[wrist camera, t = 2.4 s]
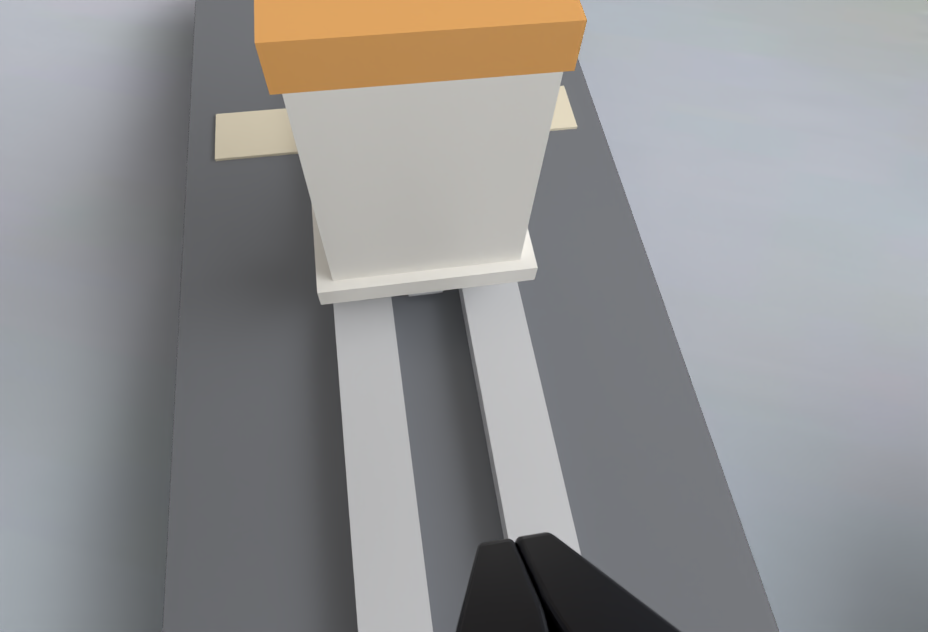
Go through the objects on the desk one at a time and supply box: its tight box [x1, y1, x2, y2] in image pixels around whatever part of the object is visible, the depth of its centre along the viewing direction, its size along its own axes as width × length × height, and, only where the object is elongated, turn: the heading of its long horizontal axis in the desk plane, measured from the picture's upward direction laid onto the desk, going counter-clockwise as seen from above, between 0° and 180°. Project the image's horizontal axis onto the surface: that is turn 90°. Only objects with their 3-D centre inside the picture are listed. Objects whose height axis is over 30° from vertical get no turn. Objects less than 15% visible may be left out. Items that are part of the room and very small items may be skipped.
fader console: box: [163, 0, 779, 632], centre depth 20 cm, size 30×14×3 cm, turn 9°
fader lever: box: [254, 0, 587, 305], centre depth 14 cm, size 3×6×9 cm, turn 99°
